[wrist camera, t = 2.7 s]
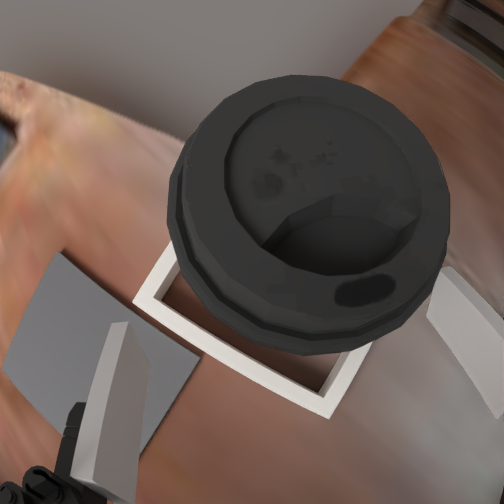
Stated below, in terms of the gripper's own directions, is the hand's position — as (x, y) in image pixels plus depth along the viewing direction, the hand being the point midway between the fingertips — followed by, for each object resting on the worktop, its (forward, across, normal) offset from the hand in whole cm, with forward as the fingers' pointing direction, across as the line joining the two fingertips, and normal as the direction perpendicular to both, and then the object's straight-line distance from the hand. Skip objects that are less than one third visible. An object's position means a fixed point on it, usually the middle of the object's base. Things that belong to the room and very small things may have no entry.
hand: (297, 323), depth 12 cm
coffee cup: (+11, +1, -5) cm, 12 cm away
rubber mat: (+7, -16, -9) cm, 20 cm away
